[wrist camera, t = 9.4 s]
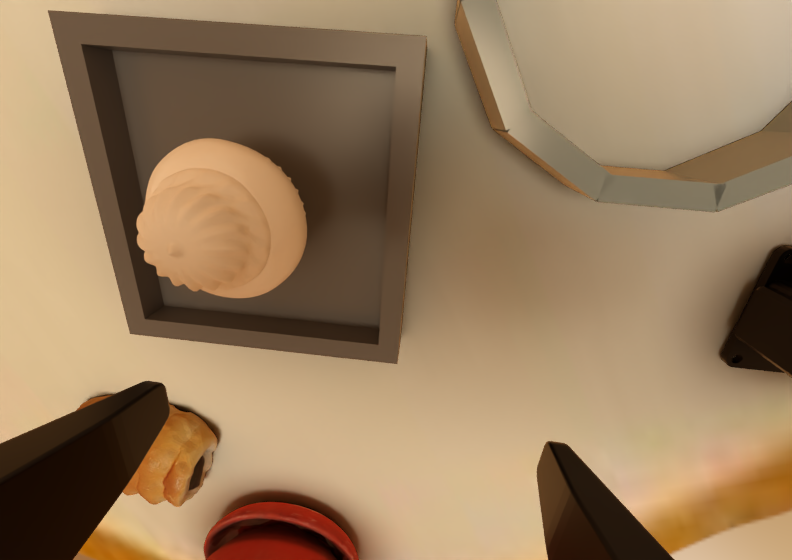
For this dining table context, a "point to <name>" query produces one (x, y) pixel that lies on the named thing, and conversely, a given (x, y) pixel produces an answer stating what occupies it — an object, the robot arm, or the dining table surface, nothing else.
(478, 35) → the grey polygonal ring
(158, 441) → the pastry
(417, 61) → the tray
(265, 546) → the plant pot
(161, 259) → the muffin
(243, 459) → the dining table surface
